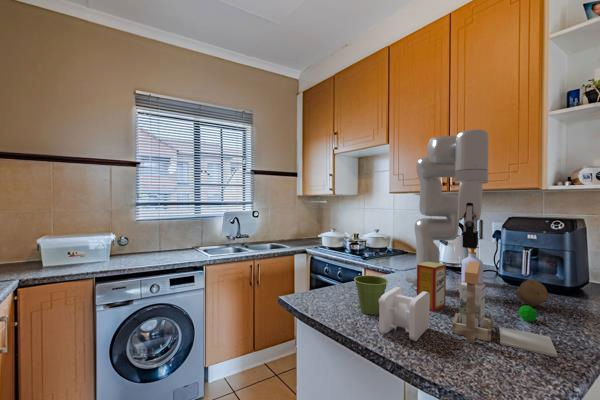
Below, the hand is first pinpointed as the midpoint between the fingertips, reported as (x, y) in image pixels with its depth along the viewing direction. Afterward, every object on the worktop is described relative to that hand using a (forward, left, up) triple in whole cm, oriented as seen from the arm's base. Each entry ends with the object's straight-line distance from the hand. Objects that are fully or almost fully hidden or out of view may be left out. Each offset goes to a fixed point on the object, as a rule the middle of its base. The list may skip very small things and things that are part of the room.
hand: (470, 245), depth 78 cm
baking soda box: (-14, +30, -28) cm, 43 cm away
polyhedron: (+15, +34, -28) cm, 46 cm away
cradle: (0, +14, -27) cm, 31 cm away
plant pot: (-31, +12, -28) cm, 43 cm away
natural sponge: (+18, +52, -28) cm, 61 cm away
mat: (+13, +15, -27) cm, 34 cm away
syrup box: (0, +14, -28) cm, 31 cm away
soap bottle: (-3, +76, -28) cm, 80 cm away
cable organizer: (-17, +2, -28) cm, 33 cm away
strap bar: (0, +14, -11) cm, 17 cm away
